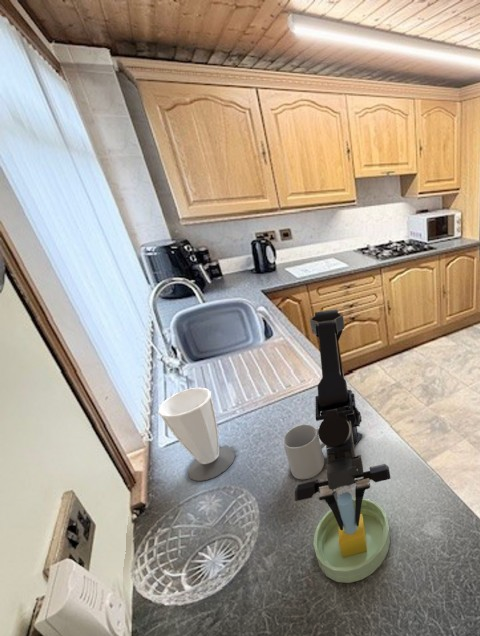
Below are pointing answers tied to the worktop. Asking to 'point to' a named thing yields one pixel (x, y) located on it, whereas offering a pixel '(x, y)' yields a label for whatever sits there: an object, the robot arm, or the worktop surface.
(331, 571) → the bowl
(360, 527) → the sponge wand
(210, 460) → the cup
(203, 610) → the worktop surface
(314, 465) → the mug
